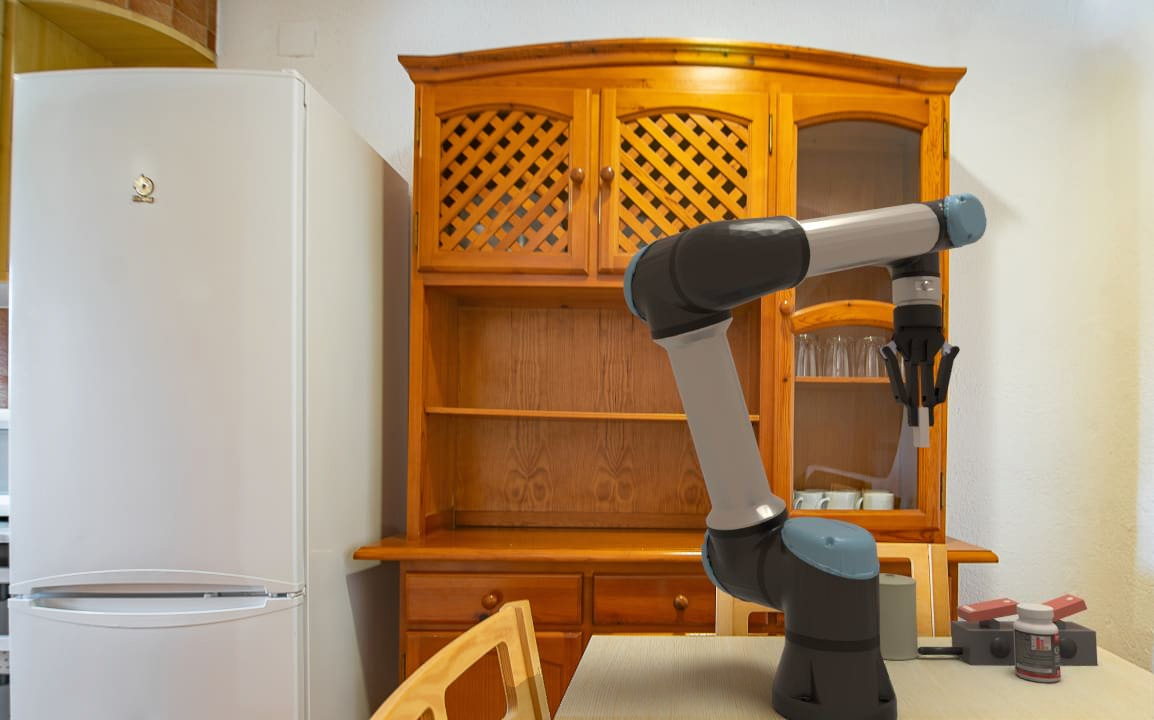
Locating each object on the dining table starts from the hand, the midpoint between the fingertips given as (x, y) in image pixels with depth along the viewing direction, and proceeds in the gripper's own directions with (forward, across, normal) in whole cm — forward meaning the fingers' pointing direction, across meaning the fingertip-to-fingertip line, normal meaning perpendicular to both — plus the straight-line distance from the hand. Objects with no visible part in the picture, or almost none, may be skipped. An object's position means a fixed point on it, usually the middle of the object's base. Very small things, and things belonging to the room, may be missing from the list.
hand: (921, 446), depth 131 cm
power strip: (+32, +9, -6) cm, 34 cm away
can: (+33, -8, -2) cm, 34 cm away
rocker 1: (+25, +7, -6) cm, 27 cm away
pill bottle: (+33, +9, -15) cm, 37 cm away
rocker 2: (+25, +17, -6) cm, 31 cm away
